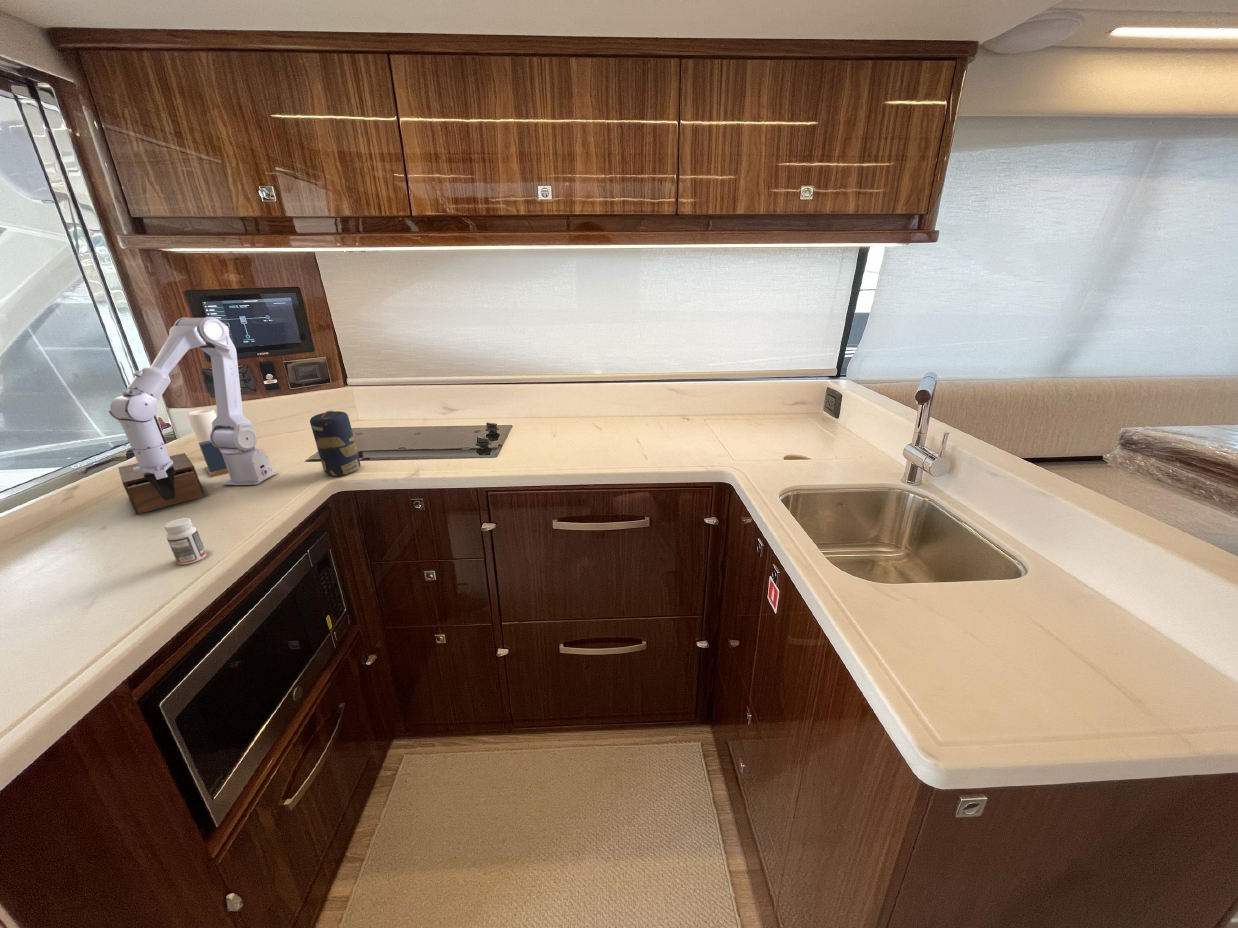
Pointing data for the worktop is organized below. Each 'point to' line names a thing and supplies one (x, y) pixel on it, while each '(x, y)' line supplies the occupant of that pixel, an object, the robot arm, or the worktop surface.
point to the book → (212, 456)
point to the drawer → (151, 499)
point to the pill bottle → (184, 541)
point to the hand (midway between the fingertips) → (169, 498)
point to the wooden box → (130, 476)
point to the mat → (217, 472)
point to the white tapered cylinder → (202, 423)
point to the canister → (335, 442)
